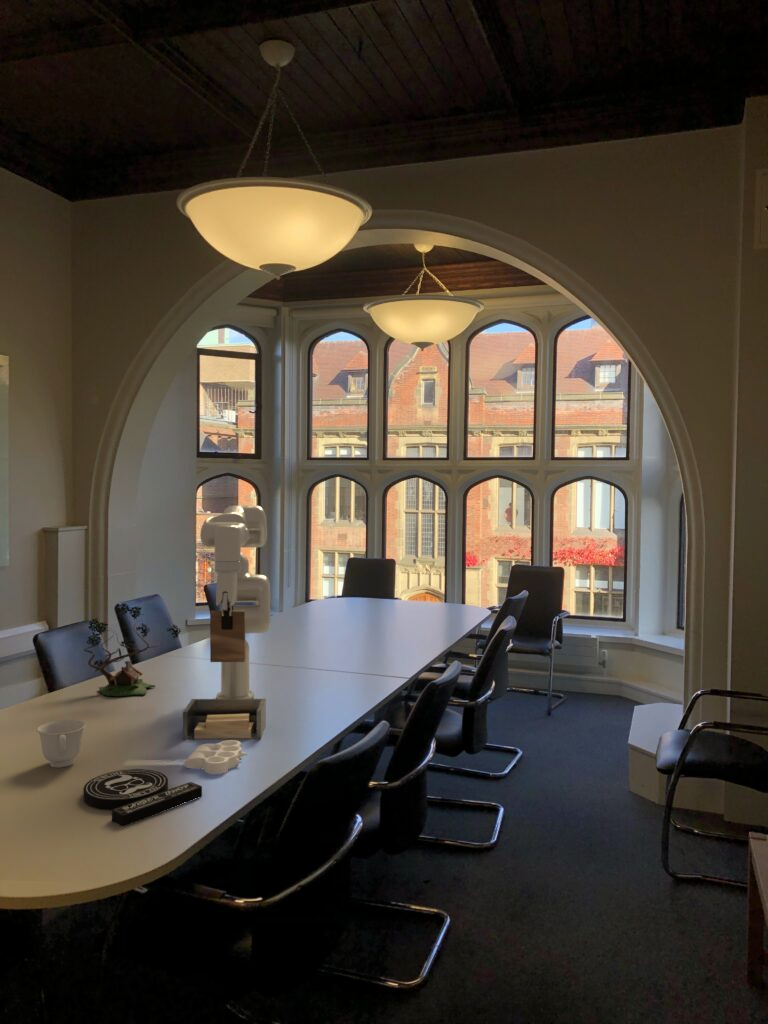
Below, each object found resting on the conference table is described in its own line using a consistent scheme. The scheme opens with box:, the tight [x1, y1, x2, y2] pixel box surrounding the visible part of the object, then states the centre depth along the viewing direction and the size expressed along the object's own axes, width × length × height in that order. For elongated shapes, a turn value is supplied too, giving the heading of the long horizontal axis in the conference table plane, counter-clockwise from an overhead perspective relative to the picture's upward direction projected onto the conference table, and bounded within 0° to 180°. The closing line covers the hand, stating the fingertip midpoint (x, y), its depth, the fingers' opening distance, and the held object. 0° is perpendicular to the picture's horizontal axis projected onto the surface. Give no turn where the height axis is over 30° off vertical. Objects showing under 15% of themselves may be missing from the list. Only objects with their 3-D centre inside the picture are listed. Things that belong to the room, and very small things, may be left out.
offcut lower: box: [194, 722, 254, 738], centre depth 234 cm, size 7×16×2 cm, turn 92°
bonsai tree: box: [83, 602, 181, 698], centre depth 280 cm, size 35×24×32 cm
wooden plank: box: [209, 610, 246, 663], centre depth 240 cm, size 2×10×15 cm, turn 92°
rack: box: [182, 698, 267, 741], centre depth 236 cm, size 13×22×9 cm, turn 92°
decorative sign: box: [83, 768, 203, 827], centre depth 192 cm, size 22×3×25 cm
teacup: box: [36, 719, 87, 768], centre depth 212 cm, size 12×15×10 cm
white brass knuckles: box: [183, 739, 248, 775], centre depth 215 cm, size 3×18×15 cm
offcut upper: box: [206, 714, 249, 730], centre depth 234 cm, size 6×12×2 cm, turn 98°
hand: (227, 628), depth 239 cm, fingers closed on wooden plank, 2 cm apart
